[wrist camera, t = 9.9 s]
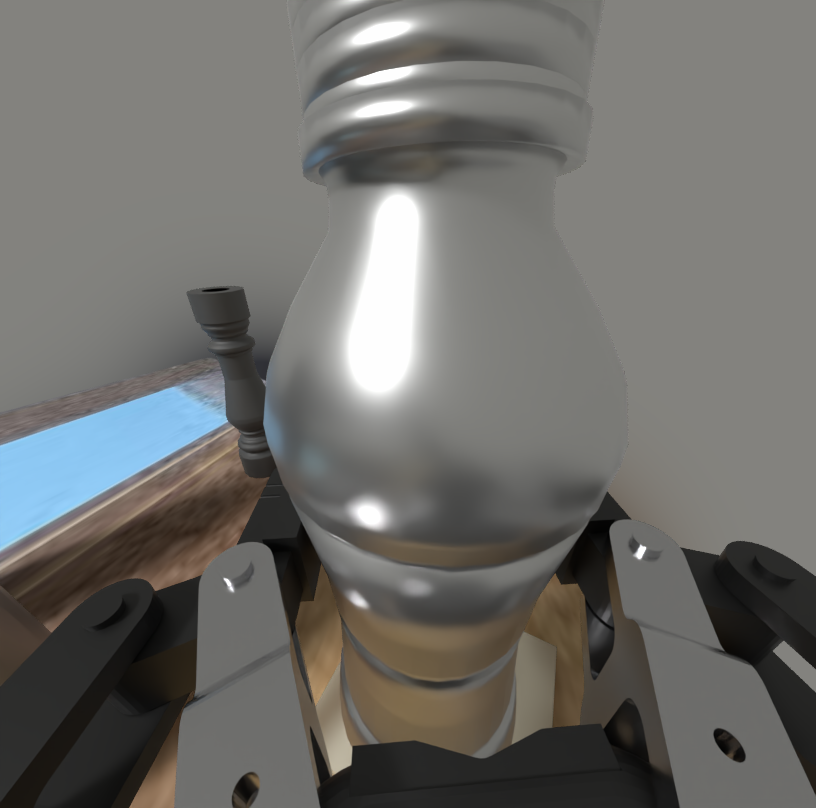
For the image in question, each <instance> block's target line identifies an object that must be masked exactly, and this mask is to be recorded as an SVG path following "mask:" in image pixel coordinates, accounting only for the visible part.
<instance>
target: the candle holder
mask: <svg viewBox="0 0 816 808" xmlns="http://www.w3.org/2000/svg"><path fill="white" fill-rule="evenodd" d="M187 296H188V299H189V302H190V305H191V307H192V310H193V313H194V316H195V319H196V322H197V323H200V324H201V328H202V329H203V330H204V331H205V332H206V333H207V334H208V336H210V337H211V338H212V340H211V341H210V342H209V344H208V345H207V348H208V350H209V351H210V352H212V353H214V354H215V356H217V357H218V360H219V363H220V367H221V370H222V373H223V376H224V380H225V400H226V417H227V420H228V421H229V422H230V424H232V425H233V426H234V427H236V428H237V429H239V432H240V433H241V435H240V438H239V440H238V447H239V448H240V449H239V456H240V459H241V461H242V464H243V467H244V470H245V473H246V474H247V475H248V476H249V477H254V478H265V477H268V476H271V474H272V472H273V470H275V469H276V468H277V466H276V463H275V461H274V458H273V456H272V453H271V451H270V448H269V445H268V442H267V438H266V434H265V429H264V425H263V421H264V407H265V393H266V387H265V385H264V384H263V382H262V380H261V378H260V376H259V374H258V373H257V371H256V367H255V363H254V360H253V356H252V352H251V351H252V347H253V346H254V345H255V341H254V338H253V337H251V336H248V335H247V334H246V332H247V331H248V326H249V320H248V318H249V317H250V312H249V309H248V305H247V301H246V297H245V293H244V289H243V287H238V286H220V287H209V288H201V289H195V290H190V291H188V292H187Z"/></svg>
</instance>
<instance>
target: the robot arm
mask: <svg viewBox="0 0 816 808" xmlns="http://www.w3.org/2000/svg"><path fill="white" fill-rule="evenodd" d="M320 566H321V560H320V558H319V556H318V554H317V552H316V550H315V548H314V546H313V544H312V542H311V540H310V538H309V536H308V534H307V532H306V530H305V528H304V526H303V524H302V522H301V520H300V517H299V515H298V513H297V511H296V509H295V507H294V505H293V503H292V501H291V499H290V496H289V493H288V492H287V490H286V489H285V487H284V486H283V483H282V481H281V478H280V475H279V472H278V469H277V468H276V469H275V470H273V472H272V474H271V476H270V478H269V480H268V482H267V484H266V487H265V488H264V490H263V492H262V494H261V499H259V500H258V502H257V504H256V506H255V509H254V511H253V513H252V515H251V517H250V519H249V521H248V523H247V525H246V527H245V529H244V531H243V533H242V535H241V537H240V539H239V541H238V543H237V545H236V546H233V547H231V548H229V549H227V550H226V551H224V552H223V553H221V554H220V555H218V556H217V557H216V558H215V559H214V560H213V561H212V562H211V563H210V564H209V565H208V567H207V568H206V569H205V571H204V573H203V575H201V576H198V577H196V578H193V579H190V580H187V581H184V582H181V583H178V584H175V585H172V586H170V587H167V588H164V589H161V590H158V591H155V590H154V589H153V587H152V586H151V584H150V583H149V582H148V581H146V580H143V579H127V580H123V581H119V582H117V583H114V584H112V585H109V586H107V587H105V588H103V589H101V590H100V591H98V592H96V593H95V594H93V595H92V596H90V597H89V598H88V599H86V600H85V601H84V602H83V603H81V604H80V605H79V606H78V607H77V608H76V609H75V610H74V611H73V612H72V613H71V614H70V615H69V616H68V617H67V618H66V619H65V620H64V621H63V622H62V623H61V624H60V625H59V626H58V627H57V628H56V629H55V630H54V631H53V632H52V633H51V632H50V631H49V630H48V629H47V628H46V627H45V626H44V625H43V624H41V623H40V622H39V621H38V620H37V619H36V618H35V617H34V616H33V615H32V614H31V613H30V612H29V611H27V610H26V609H25V608H24V607H23V606H22V605H21V604H20V603H19V602H18V601H17V600H16V599H15V598H13V597H12V596H11V595H10V594H9V593H8V592H7V591H6V590H5V589H4V588H3V587H2V586H1V585H0V808H129V807H130V805H131V803H132V801H133V799H134V797H135V795H136V794H137V792H138V790H139V788H140V786H141V784H142V782H143V780H144V779H145V777H146V775H147V773H148V771H149V769H150V767H151V765H152V764H153V762H154V760H155V758H156V756H157V754H158V752H159V750H160V749H161V747H162V745H163V743H164V741H165V739H166V737H167V735H168V734H169V732H170V730H171V728H172V726H173V724H174V722H175V720H176V719H177V717H178V715H179V713H180V711H181V709H182V707H183V705H184V704H185V702H186V700H187V698H188V696H189V694H190V692H192V691H194V690H196V691H195V695H194V698H193V700H191V701H189V702H188V703H187V704H186V705H185V707H184V710H183V713H182V716H181V721H180V727H179V737H178V754H177V771H176V787H175V804H174V808H816V693H815V691H813V690H812V689H811V688H810V687H809V686H808V685H807V684H806V683H805V682H804V681H803V680H802V679H801V678H800V677H799V676H798V675H796V673H795V672H794V671H793V670H791V669H790V668H789V667H788V666H787V665H786V664H785V663H784V662H783V661H782V660H781V659H780V658H779V657H778V656H777V655H776V654H775V653H774V652H773V650H774V649H775V648H776V647H777V646H778V645H779V644H780V643H781V642H782V641H785V642H786V643H787V644H788V645H790V646H791V647H792V648H793V649H794V650H795V651H796V652H798V653H799V654H800V655H801V656H802V657H803V658H804V659H805V660H806V661H807V662H808V663H809V664H811V665H812V666H813V667H814V668H815V669H816V576H814V575H813V574H811V573H810V572H809V571H807V570H806V569H804V568H803V567H802V566H800V565H799V564H797V563H796V562H794V561H793V560H791V559H790V558H788V557H786V556H784V555H783V554H780V553H778V552H776V551H774V550H772V549H770V548H768V547H765V546H762V545H759V544H755V543H752V542H745V541H736V542H732V543H730V544H728V545H727V546H726V548H725V549H724V551H723V552H722V553H721V555H720V556H719V555H714V554H709V553H705V552H700V551H695V550H690V549H685V548H681V547H679V546H678V544H677V543H676V542H675V541H674V540H673V539H671V538H670V537H669V536H668V535H666V534H665V533H664V532H662V531H661V530H659V529H657V528H655V527H653V526H651V525H649V524H646V523H643V522H640V521H636V520H631V518H630V517H629V516H628V515H627V514H626V513H625V511H624V510H623V509H622V508H621V507H620V506H619V505H618V503H617V502H616V501H615V500H614V499H613V498H612V497H611V495H610V494H609V493H608V492H606V494H605V497H604V499H603V501H602V503H601V505H600V507H599V509H598V511H597V512H596V513H595V514H594V515H593V516H592V517H591V518H590V520H589V522H588V525H587V526H586V527H585V529H584V530H583V532H582V533H581V535H580V536H579V538H578V539H577V541H576V542H575V544H574V545H573V547H572V548H571V550H570V551H569V553H568V554H567V556H566V557H565V559H564V560H563V562H562V563H561V565H560V566H559V568H558V569H557V571H556V572H555V573H556V575H557V577H558V579H559V581H560V583H561V585H562V584H576V583H578V585H579V587H580V589H581V591H582V592H583V593H582V595H581V598H580V620H581V636H582V652H583V668H584V696H583V701H582V707H581V715H580V725H577V726H566V727H555V728H544V729H540V730H538V731H536V732H534V733H533V734H531V735H529V736H527V737H525V738H523V739H521V740H519V741H518V742H516V743H514V744H512V745H510V746H508V747H506V748H505V749H503V750H501V751H499V752H497V753H495V754H493V755H492V756H489V757H487V758H476V757H472V756H469V755H465V754H462V753H458V752H455V751H451V750H448V749H444V748H441V747H437V746H434V745H430V744H427V743H423V742H420V741H416V740H412V741H401V742H390V743H379V744H368V745H357V746H352V761H351V765H350V766H348V767H346V768H344V769H342V770H340V771H339V772H337V773H336V774H334V775H333V774H332V770H331V766H330V761H329V757H328V753H327V749H326V745H325V741H324V737H323V733H322V730H321V726H320V723H319V719H318V715H317V712H316V708H315V703H314V699H313V695H312V690H311V686H310V682H309V677H308V673H307V669H306V664H305V660H304V655H303V651H302V647H301V642H300V638H299V634H298V629H297V625H296V618H297V613H298V609H299V605H300V602H301V601H314V596H315V591H316V586H317V581H318V576H319V571H320Z"/></svg>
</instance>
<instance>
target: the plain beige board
mask: <svg viewBox="0 0 816 808" xmlns="http://www.w3.org/2000/svg"><path fill="white" fill-rule="evenodd" d="M556 653H557V647H556V646H554V645H552V644H550V643H547V642H545V641H543V640H541V639H539V638H537V637H534V636H532V635H530V634H528V633H526V632H523V634H522V636H521V638H520V641H519V643H518V651H517V659H516V666H515V675H516V722H515V728H514V733H513V739H512V744H514V743H516V742H518V741H519V740H521V739H523V738H525V737H527V736H529V735H531V734H533V733H534V732H536V731H538V730H540V729H544V728H552V724H553V706H554V689H555V671H556ZM340 665H341V662H340V663H339V665H338V667H337V669H336V671H335V672H334V674H333V676H332V678H331V680H330V681H329V683H328V685H327V687H326V688H325V690H324V692H323V694H322V696H321V697H320V699H319V701H318V703H317V705H316V706H315V708H316V712H317V715H318V719H319V723H320V726H321V730H322V733H323V737H324V741H325V745H326V749H327V753H328V757H329V761H330V766H331V770H332V774H333V775H334V774H336V773H337V772H339V771H340V770H342V769H344V768H346V767H348V766H350V765H351V761H352V747H351V745H350V742H349V740H348V738H347V734H346V730H345V726H344V722H343V718H342V714H341V703H340Z"/></svg>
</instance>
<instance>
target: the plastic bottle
mask: <svg viewBox="0 0 816 808" xmlns="http://www.w3.org/2000/svg"><path fill="white" fill-rule="evenodd" d="M604 1H605V0H287V13H288V19H289V26H290V33H291V39H292V45H293V53H294V61H295V66H296V74H297V81H298V88H299V95H300V102H301V109H302V116H303V122H302V123H301V125H300V127H299V128H298V141H299V148H300V155H301V162H302V168H303V174H304V177H306V178H307V179H308V180H309V181H311V182H314V183H316V184H319V185H323V186H327V190H328V197H329V216H328V233H327V235H326V237H325V239H324V241H323V243H322V245H321V247H320V249H319V251H318V253H317V255H316V257H315V259H314V261H313V263H312V265H311V267H310V269H309V271H308V273H307V275H306V277H305V279H304V281H303V283H302V284H301V286H300V288H299V291H298V292H297V294H296V296H295V298H294V300H293V302H292V304H291V306H290V309H289V312H288V314H287V317H286V320H285V323H284V325H283V328H282V330H281V333H280V336H279V338H278V341H277V344H276V346H275V349H274V352H273V354H272V357H271V360H270V363H269V367H268V371H267V379H266V393H265V407H264V421H263V425H264V429H265V434H266V438H267V442H268V445H269V448H270V451H271V453H272V456H273V458H274V461H275V463H276V466H277V469H278V472H279V475H280V478H281V481H282V483H283V486H284V487H285V489H286V490H287V492H288V493H289V496H290V499H291V501H292V503H293V505H294V507H295V509H296V511H297V513H298V515H299V517H300V520H301V522H302V524H303V526H304V528H305V530H306V532H307V534H308V536H309V538H310V540H311V542H312V544H313V546H314V548H315V550H316V552H317V554H318V556H319V558H320V560H321V562H322V565H323V567H324V569H325V571H326V573H327V575H328V578H329V581H330V585H331V588H332V591H333V594H334V597H335V601H336V604H337V607H338V610H339V614H340V617H341V623H342V640H343V648H342V653H341V665H340V703H341V714H342V718H343V722H344V726H345V730H346V734H347V738H348V740H349V742H350V745H351V747H352V746H357V745H368V744H379V743H390V742H401V741H412V740H416V741H420V742H423V743H427V744H430V745H434V746H437V747H441V748H444V749H448V750H451V751H455V752H458V753H462V754H465V755H469V756H472V757H476V758H487V757H489V756H492V755H493V754H495V753H497V752H499V751H501V750H503V749H505V748H506V747H508V746H510V745H512V739H513V733H514V728H515V722H516V675H515V666H516V659H517V651H518V643H519V641H520V638H521V636H522V634H523V632H524V629H525V626H526V624H527V622H528V620H529V618H530V615H531V613H532V611H533V608H534V606H535V604H536V601H537V599H538V597H539V596H540V594H541V593H542V591H543V590H544V588H545V587H546V585H547V584H548V582H549V581H550V579H551V578H552V576H553V575H554V574H555V572H556V571H557V569H558V568H559V566H560V565H561V563H562V562H563V560H564V559H565V557H566V556H567V554H568V553H569V551H570V550H571V548H572V547H573V545H574V544H575V542H576V541H577V539H578V538H579V536H580V535H581V533H582V532H583V530H584V529H585V527H586V526H587V525H588V522H589V520H590V518H591V517H592V516H593V515H594V514H595V513H596V512H597V511H598V509H599V507H600V505H601V503H602V501H603V499H604V497H605V494H606V492H607V490H608V488H609V486H610V484H611V483H612V481H613V479H614V477H615V475H616V473H617V472H618V470H619V468H620V466H621V463H622V460H623V458H624V455H625V452H626V449H627V447H628V404H627V383H626V377H625V372H624V369H623V367H622V364H621V362H620V359H619V357H618V354H617V352H616V349H615V347H614V344H613V342H612V339H611V337H610V334H609V332H608V329H607V327H606V324H605V322H604V319H603V317H602V314H601V312H600V309H599V307H598V305H597V303H596V301H595V300H594V298H593V296H592V294H591V292H590V290H589V289H588V287H587V285H586V283H585V281H584V279H583V277H582V276H581V274H580V272H579V270H578V268H577V267H576V265H575V263H574V261H573V259H572V257H571V256H570V254H569V252H568V250H567V248H566V247H565V245H564V243H563V241H562V239H561V237H560V236H559V234H558V232H557V230H556V228H555V226H554V189H555V183H556V177H558V176H561V175H564V174H567V173H569V172H571V171H574V170H576V169H578V168H580V167H581V166H582V165H583V164H584V163H585V161H586V156H587V150H588V145H589V140H590V134H591V128H592V123H593V108H592V107H591V106H590V105H589V104H588V102H587V98H588V93H589V86H590V81H591V75H592V70H593V64H594V58H595V52H596V47H597V41H598V35H599V30H600V24H601V19H602V12H603V7H604Z"/></svg>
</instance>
